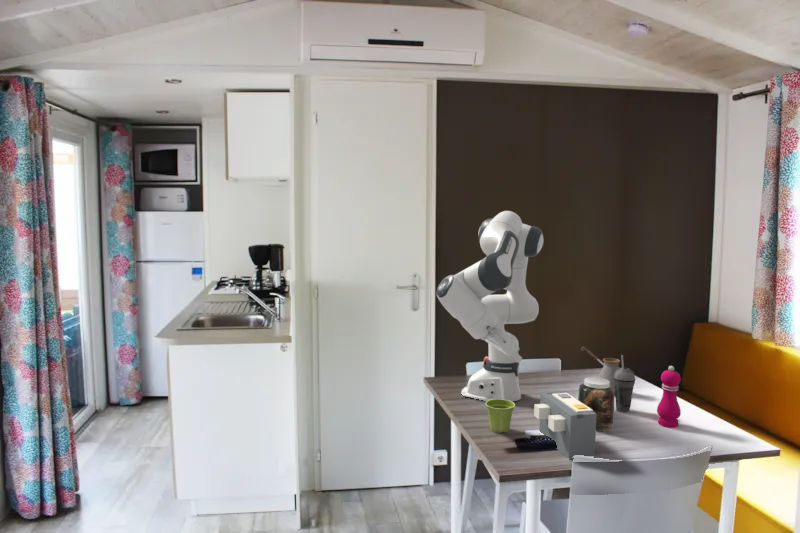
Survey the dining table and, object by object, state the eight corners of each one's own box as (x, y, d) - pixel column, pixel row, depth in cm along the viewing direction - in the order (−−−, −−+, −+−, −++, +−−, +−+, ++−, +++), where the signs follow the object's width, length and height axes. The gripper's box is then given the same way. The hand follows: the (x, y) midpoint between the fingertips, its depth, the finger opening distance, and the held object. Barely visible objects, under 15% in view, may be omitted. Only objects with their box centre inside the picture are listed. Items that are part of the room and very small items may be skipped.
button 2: (553, 431, 174) (554, 419, 173) (548, 427, 177) (548, 415, 177) (569, 430, 175) (570, 418, 174) (563, 426, 178) (564, 414, 178)
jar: (569, 420, 203) (571, 377, 201) (596, 416, 207) (598, 374, 206) (593, 433, 192) (595, 387, 190) (621, 428, 197) (623, 383, 195)
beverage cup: (635, 414, 209) (638, 358, 207) (613, 413, 211) (616, 357, 209) (631, 407, 216) (634, 353, 214) (610, 406, 218) (613, 352, 216)
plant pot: (507, 437, 188) (508, 410, 187) (480, 431, 193) (480, 405, 192) (518, 428, 196) (519, 402, 195) (491, 422, 201) (492, 397, 200)
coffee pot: (632, 394, 232) (634, 356, 230) (610, 398, 227) (612, 359, 225) (590, 379, 251) (592, 344, 249) (570, 383, 245) (571, 347, 244)
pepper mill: (669, 429, 196) (673, 369, 194) (651, 422, 202) (654, 364, 200) (684, 426, 199) (688, 367, 197) (666, 419, 205) (669, 362, 203)
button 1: (538, 419, 183) (539, 408, 183) (533, 415, 187) (534, 404, 186) (554, 418, 184) (554, 407, 184) (548, 414, 188) (549, 403, 187)
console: (569, 459, 172) (570, 413, 171) (539, 433, 191) (540, 391, 190) (594, 457, 174) (596, 411, 172) (562, 431, 193) (564, 390, 192)
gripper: (503, 322, 158) (536, 357, 161) (477, 309, 177) (507, 340, 180) (486, 340, 157) (520, 374, 160) (462, 324, 177) (493, 355, 180)
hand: (513, 356), depth 170 cm, fingers open, 7 cm apart
